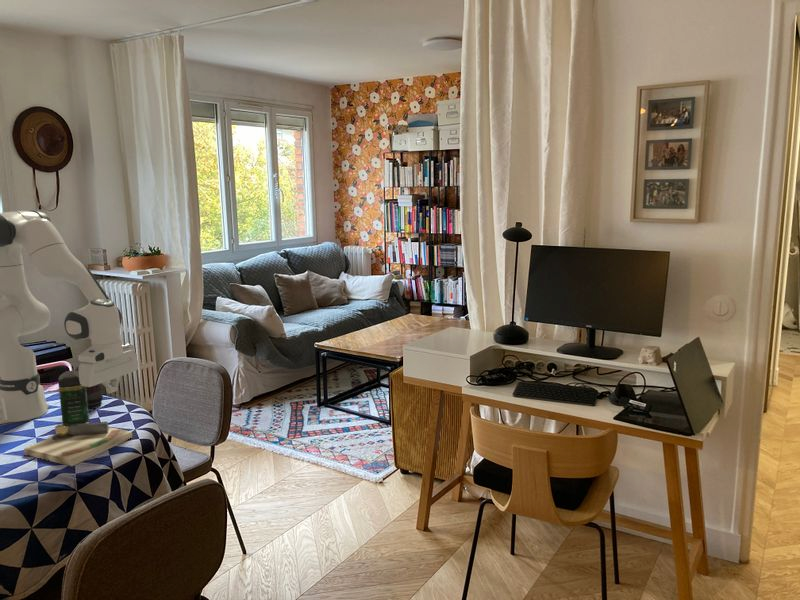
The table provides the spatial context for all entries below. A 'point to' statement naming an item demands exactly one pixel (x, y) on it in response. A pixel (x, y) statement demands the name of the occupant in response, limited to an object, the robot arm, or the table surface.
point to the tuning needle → (81, 429)
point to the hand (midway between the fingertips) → (112, 391)
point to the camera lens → (94, 394)
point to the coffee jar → (73, 398)
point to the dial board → (77, 446)
